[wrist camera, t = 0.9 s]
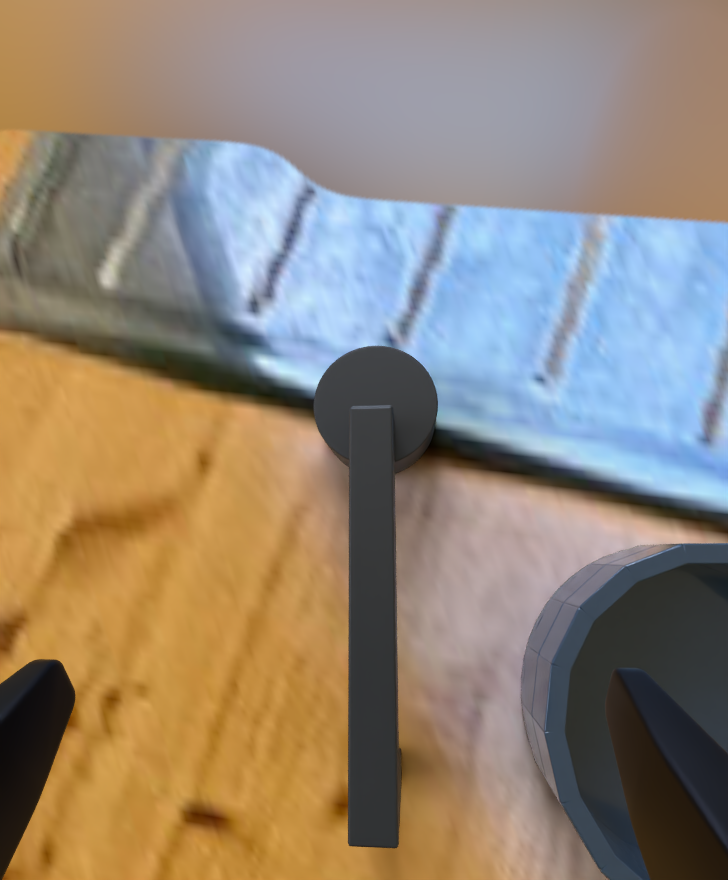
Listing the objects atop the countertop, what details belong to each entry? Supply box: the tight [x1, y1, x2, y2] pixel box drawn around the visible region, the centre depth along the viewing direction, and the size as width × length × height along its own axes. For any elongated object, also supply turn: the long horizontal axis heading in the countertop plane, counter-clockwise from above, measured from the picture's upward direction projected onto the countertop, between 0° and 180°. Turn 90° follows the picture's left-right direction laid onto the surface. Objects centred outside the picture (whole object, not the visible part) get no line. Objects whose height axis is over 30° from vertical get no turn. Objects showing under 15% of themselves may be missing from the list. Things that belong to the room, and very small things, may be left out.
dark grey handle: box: [314, 346, 438, 848], centre depth 22 cm, size 18×5×6 cm, turn 0°
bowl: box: [521, 543, 728, 880], centre depth 20 cm, size 12×13×4 cm
